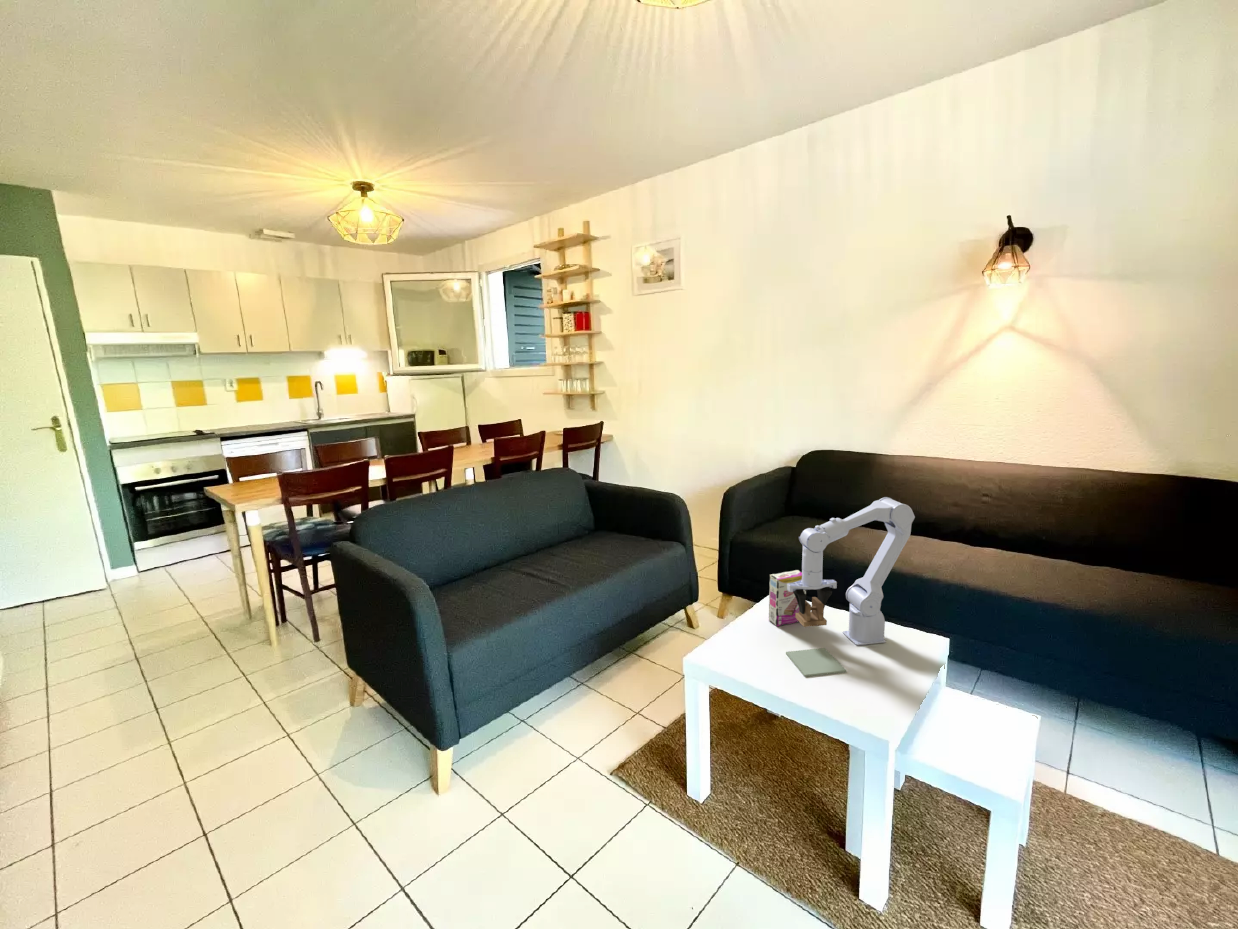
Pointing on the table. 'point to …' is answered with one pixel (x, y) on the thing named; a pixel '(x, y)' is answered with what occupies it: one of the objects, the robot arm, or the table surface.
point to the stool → (812, 614)
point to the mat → (815, 662)
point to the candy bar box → (783, 598)
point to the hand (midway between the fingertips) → (811, 611)
